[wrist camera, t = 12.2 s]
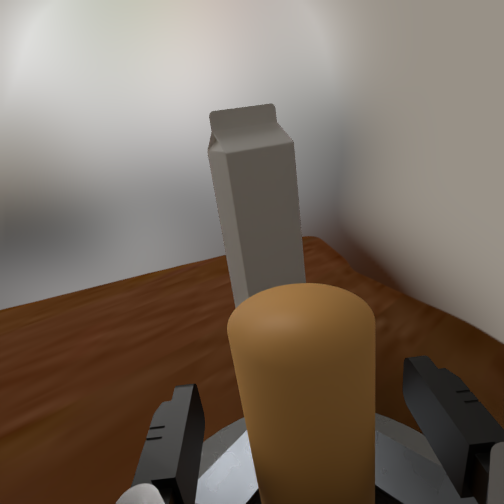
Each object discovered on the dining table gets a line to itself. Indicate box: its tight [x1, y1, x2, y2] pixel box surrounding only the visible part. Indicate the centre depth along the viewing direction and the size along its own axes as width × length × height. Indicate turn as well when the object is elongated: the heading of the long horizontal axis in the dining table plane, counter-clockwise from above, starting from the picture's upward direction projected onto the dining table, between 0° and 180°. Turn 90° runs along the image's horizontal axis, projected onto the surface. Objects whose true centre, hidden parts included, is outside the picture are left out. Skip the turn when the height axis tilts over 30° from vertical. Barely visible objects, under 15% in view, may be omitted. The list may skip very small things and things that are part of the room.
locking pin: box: [227, 283, 375, 504], centre depth 12 cm, size 4×4×14 cm
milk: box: [208, 104, 306, 308], centre depth 31 cm, size 6×6×22 cm
